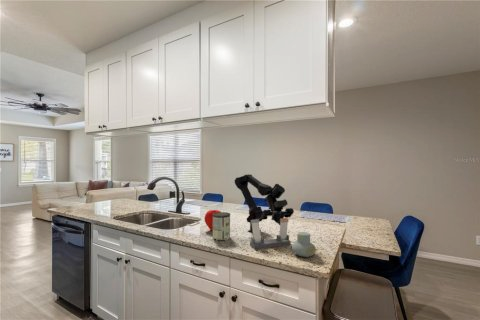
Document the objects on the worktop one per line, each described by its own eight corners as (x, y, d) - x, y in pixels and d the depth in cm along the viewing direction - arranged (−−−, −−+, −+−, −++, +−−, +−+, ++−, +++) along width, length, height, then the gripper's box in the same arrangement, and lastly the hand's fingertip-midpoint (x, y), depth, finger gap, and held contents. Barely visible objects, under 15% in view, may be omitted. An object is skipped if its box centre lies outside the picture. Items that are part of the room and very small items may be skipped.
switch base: (249, 245, 125) (249, 236, 125) (284, 241, 132) (284, 233, 132) (254, 249, 119) (254, 240, 120) (290, 244, 127) (290, 236, 127)
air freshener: (302, 260, 106) (302, 237, 106) (289, 254, 113) (289, 233, 113) (318, 255, 112) (318, 233, 112) (304, 250, 119) (304, 230, 119)
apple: (201, 231, 151) (201, 210, 152) (209, 227, 162) (209, 207, 163) (218, 233, 148) (218, 211, 148) (225, 228, 159) (225, 208, 159)
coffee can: (216, 234, 144) (216, 211, 145) (232, 236, 141) (232, 212, 142) (209, 240, 134) (209, 215, 135) (226, 241, 131) (226, 216, 132)
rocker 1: (253, 242, 123) (250, 220, 127) (260, 241, 125) (257, 219, 129) (254, 242, 122) (251, 219, 126) (262, 241, 123) (258, 219, 127)
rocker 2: (278, 238, 129) (280, 218, 127) (284, 237, 130) (286, 217, 129) (280, 240, 127) (282, 219, 126) (286, 239, 128) (288, 219, 127)
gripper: (263, 195, 131) (272, 219, 120) (292, 194, 138) (303, 216, 127) (257, 207, 138) (265, 231, 127) (285, 205, 145) (295, 228, 134)
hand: (283, 226), depth 129 cm, fingers closed, pressing on rocker 2
